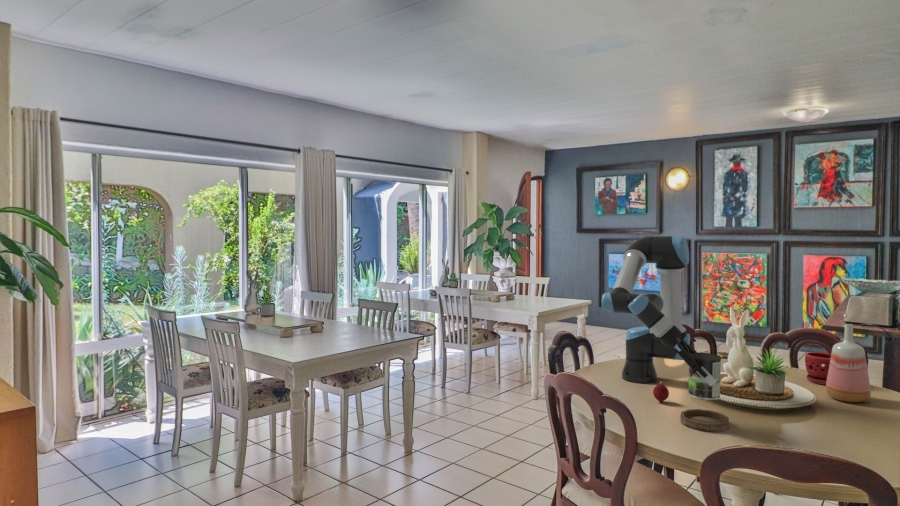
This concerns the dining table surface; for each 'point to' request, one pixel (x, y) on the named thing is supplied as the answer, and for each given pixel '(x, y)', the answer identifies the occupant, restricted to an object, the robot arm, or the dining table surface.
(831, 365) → the vase
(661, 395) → the onion
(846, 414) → the dining table surface
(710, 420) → the tray
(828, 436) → the dining table surface
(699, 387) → the coffee can
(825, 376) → the plant pot
